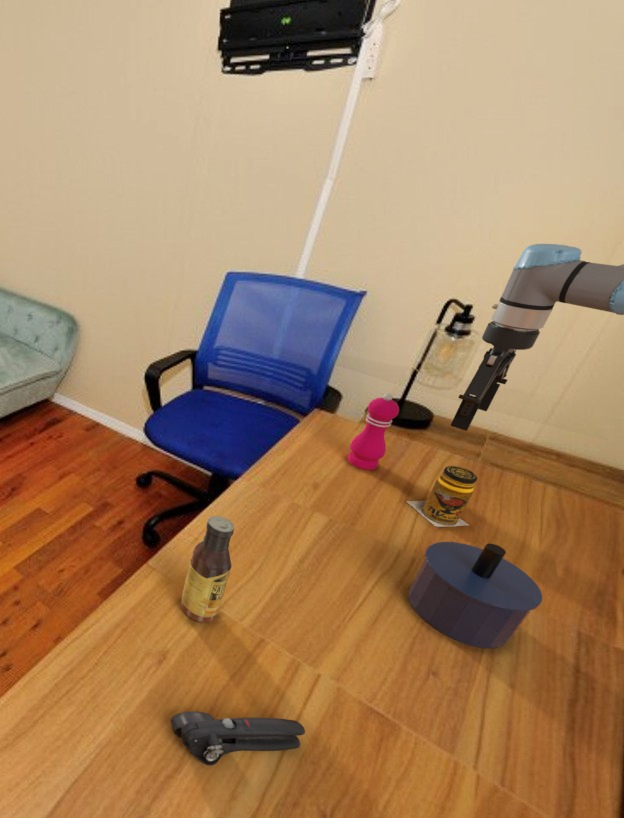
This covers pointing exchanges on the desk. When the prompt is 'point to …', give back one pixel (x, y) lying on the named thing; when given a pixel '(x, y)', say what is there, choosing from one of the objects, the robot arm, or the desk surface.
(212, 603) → the sauce bottle
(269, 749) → the can opener
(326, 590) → the desk surface
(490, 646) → the pot
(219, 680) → the desk surface
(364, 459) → the pepper mill
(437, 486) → the condiment
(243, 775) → the desk surface
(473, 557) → the pot lid
